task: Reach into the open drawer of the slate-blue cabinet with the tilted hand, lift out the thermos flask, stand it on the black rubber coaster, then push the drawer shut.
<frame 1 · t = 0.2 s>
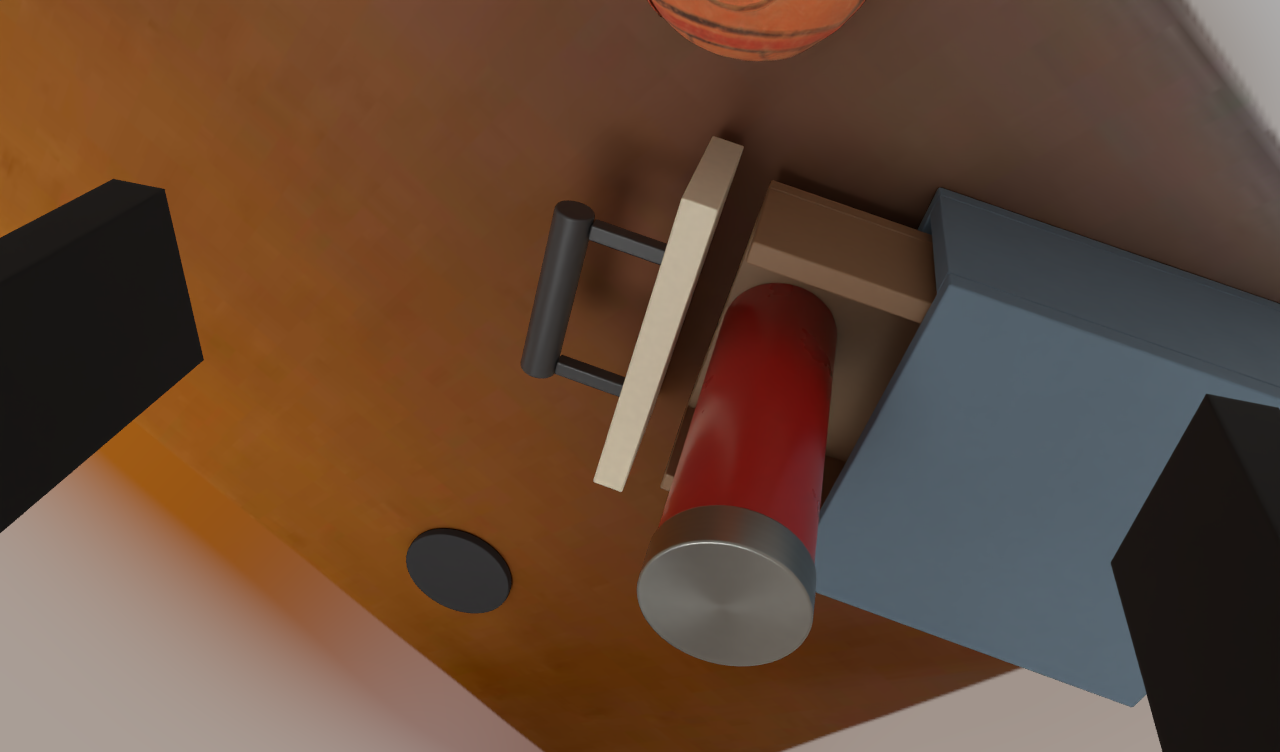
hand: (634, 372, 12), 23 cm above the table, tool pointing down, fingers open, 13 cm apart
coaster: (460, 568, 50), on the table
drawer: (756, 352, 33), point 4 cm above the table, slide at 7.0 cm, touching thermos flask
cabinet: (1025, 394, 36), on the table
thermos flask: (778, 333, 34), point 2 cm above the table, touching drawer
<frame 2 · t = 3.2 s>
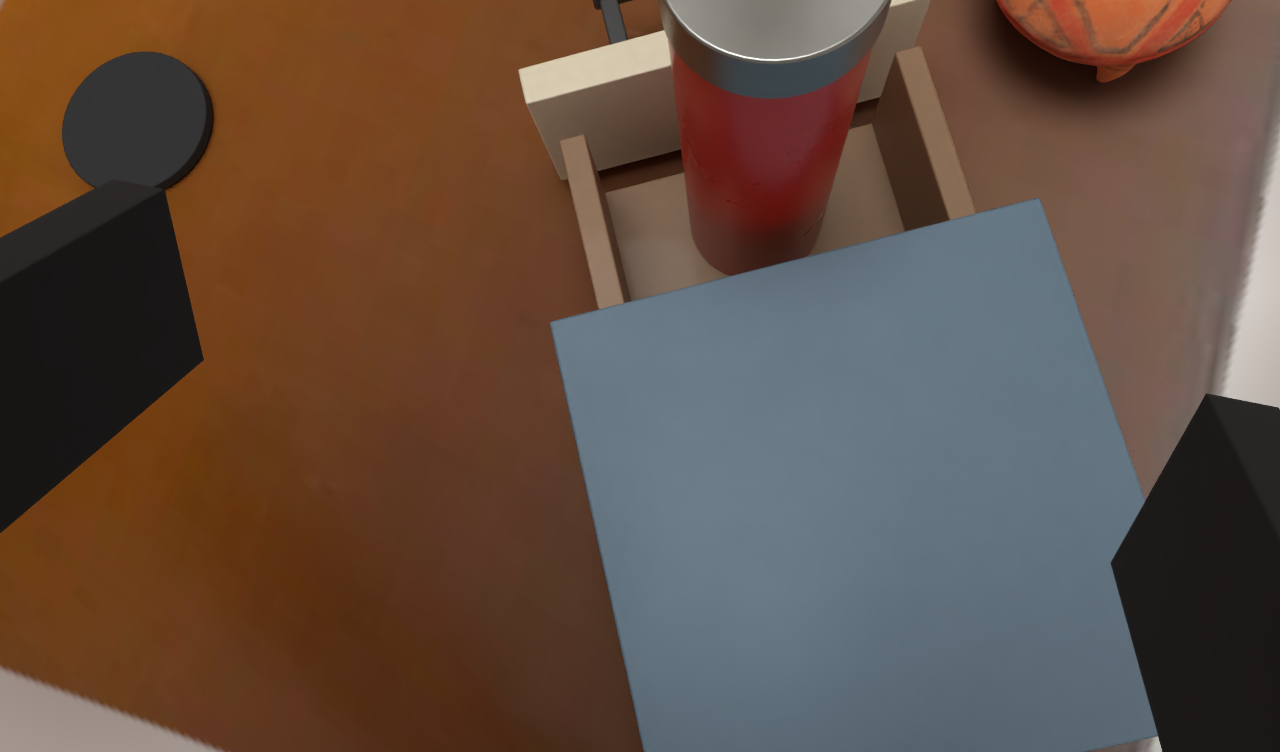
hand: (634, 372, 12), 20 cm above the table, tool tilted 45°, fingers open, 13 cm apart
coaster: (141, 126, 36), on the table
pot: (1073, 12, 33), on the table
drawer: (750, 179, 29), point 4 cm above the table, slide at 7.0 cm, touching thermos flask
cabinet: (828, 516, 30), on the table
thermos flask: (754, 218, 30), point 2 cm above the table, touching drawer
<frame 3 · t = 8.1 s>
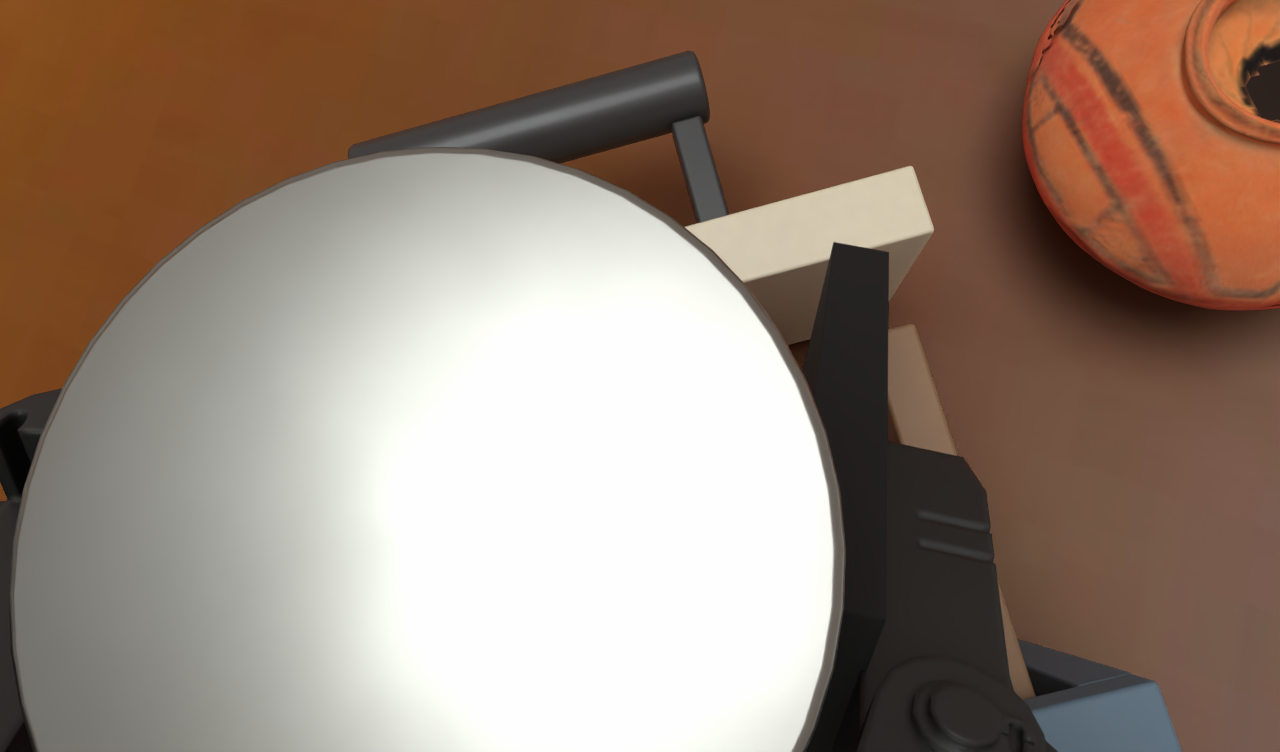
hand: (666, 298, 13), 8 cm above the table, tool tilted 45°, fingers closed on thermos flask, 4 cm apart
pot: (1151, 183, 21), on the table
drawer: (626, 514, 17), point 4 cm above the table, slide at 7.1 cm, touching gripper, thermos flask
thermos flask: (644, 550, 18), point 2 cm above the table, touching drawer, gripper
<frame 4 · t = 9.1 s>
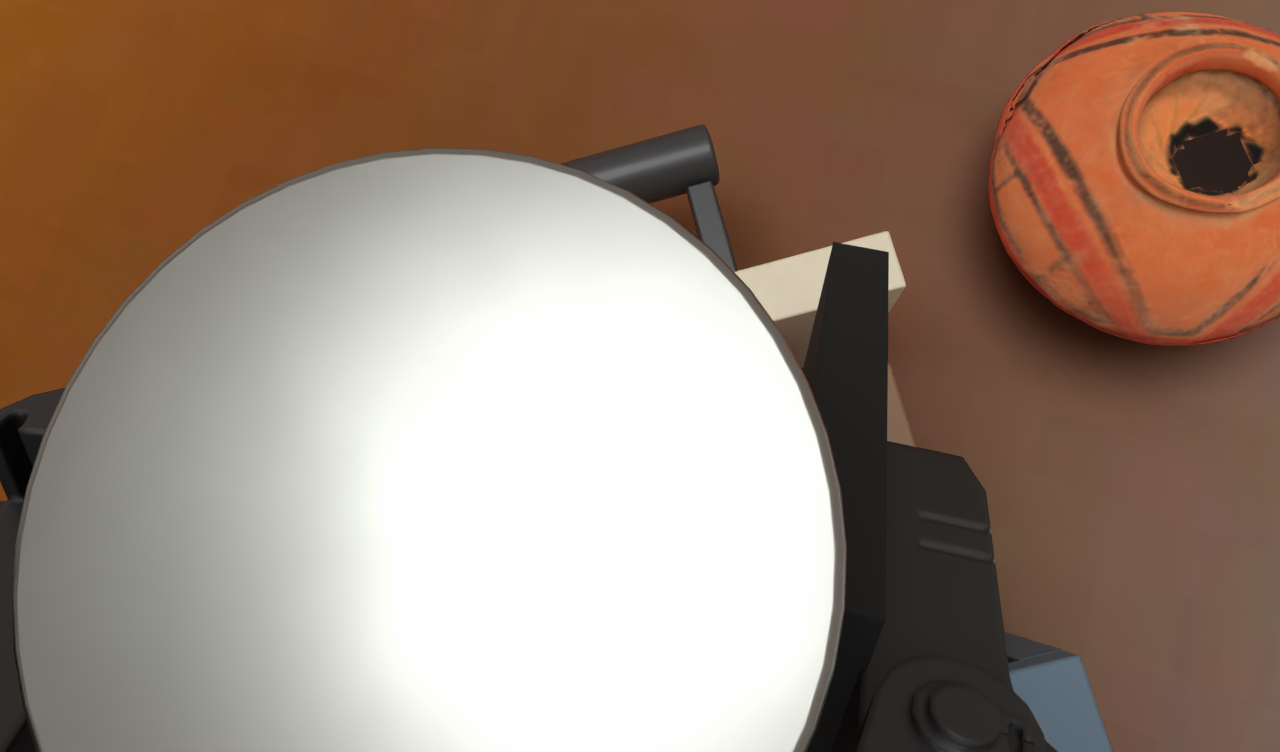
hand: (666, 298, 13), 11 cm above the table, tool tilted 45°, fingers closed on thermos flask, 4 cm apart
pot: (1106, 227, 24), on the table
drawer: (648, 519, 20), point 4 cm above the table, slide at 7.1 cm
thermos flask: (644, 550, 18), point 5 cm above the table, touching gripper
when the fingers open (6 cm above the table, at t = 18.4 s): thermos flask stays where it is, resting on coaster.
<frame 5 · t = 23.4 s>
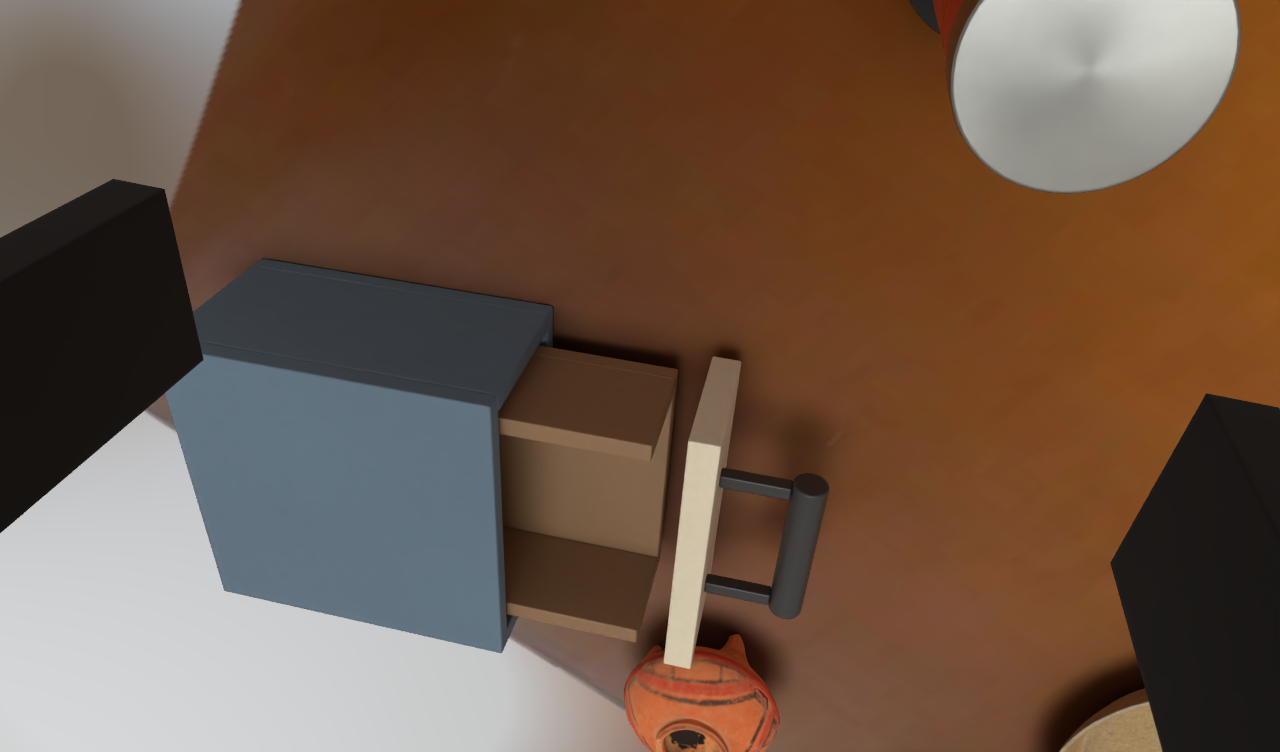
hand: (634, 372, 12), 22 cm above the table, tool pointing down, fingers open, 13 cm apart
plant saucer: (1201, 745, 44), on the table
pot: (710, 655, 48), on the table
drawer: (619, 501, 38), point 4 cm above the table, slide at 7.1 cm
cabinet: (417, 406, 43), on the table
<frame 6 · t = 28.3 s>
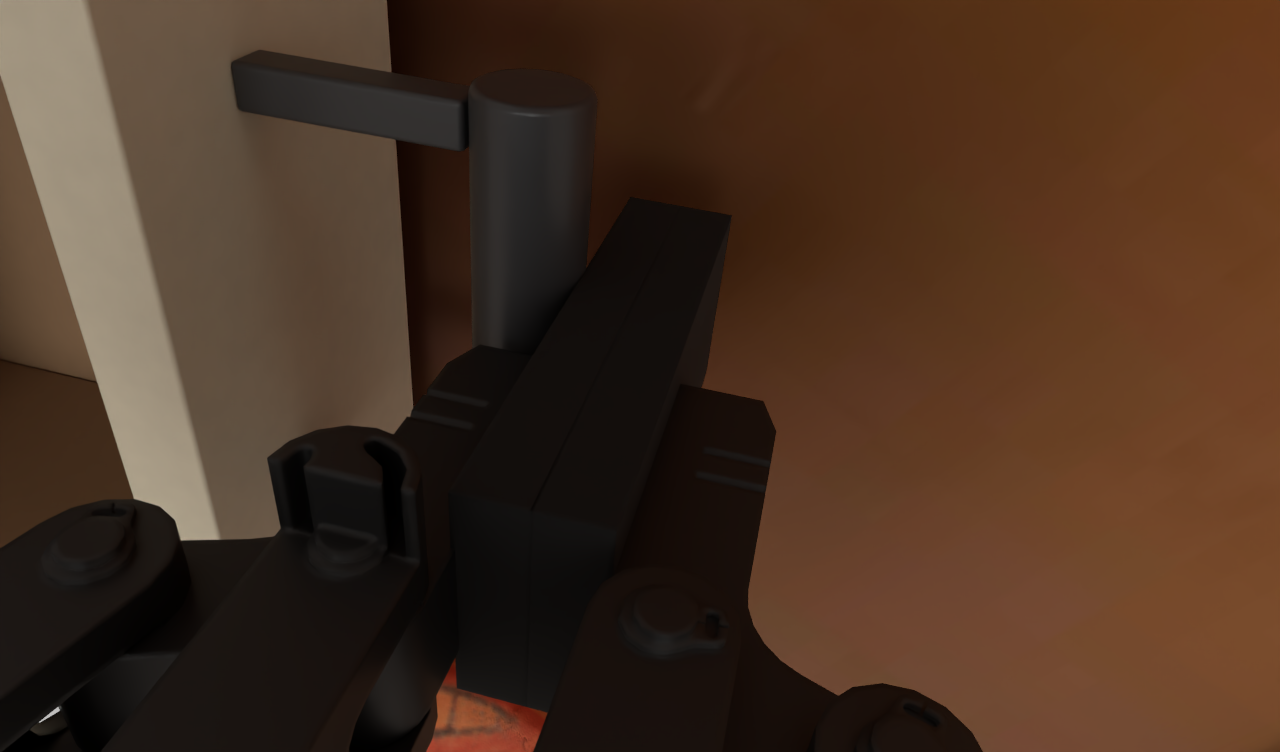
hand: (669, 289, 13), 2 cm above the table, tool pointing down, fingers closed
pot: (488, 663, 24), on the table
drawer: (55, 221, 13), point 4 cm above the table, slide at 6.5 cm, touching gripper
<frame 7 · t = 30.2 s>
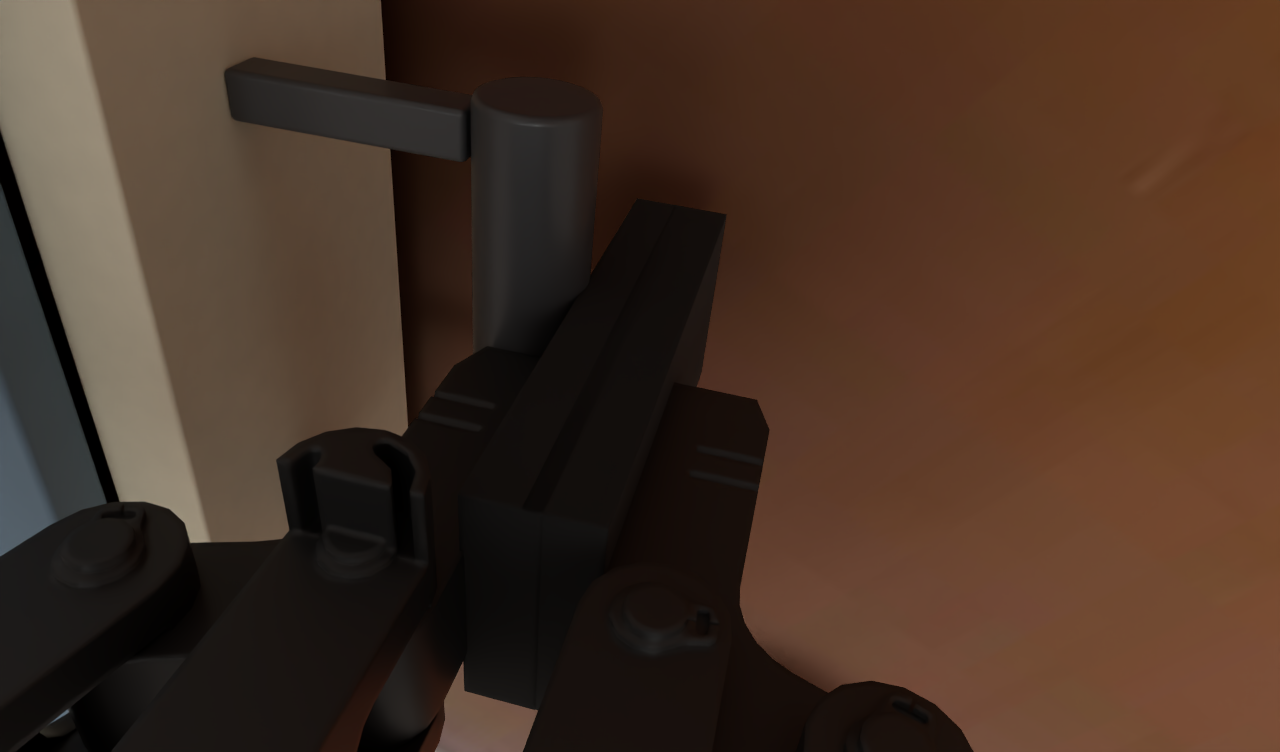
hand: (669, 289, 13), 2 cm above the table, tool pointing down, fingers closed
drawer: (40, 232, 13), point 4 cm above the table, slide at 0.0 cm, touching cabinet, gripper
cabinet: (8, 107, 17), on the table
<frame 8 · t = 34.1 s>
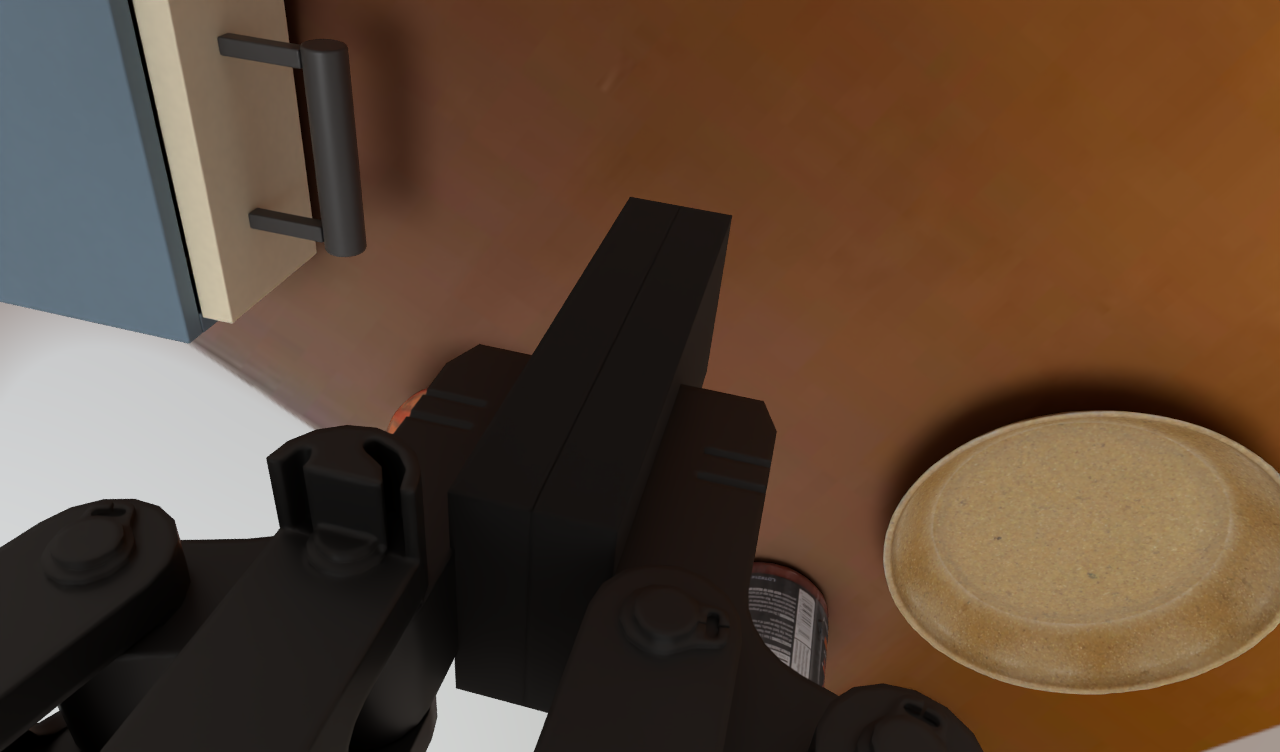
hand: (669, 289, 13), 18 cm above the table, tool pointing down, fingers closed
plant saucer: (1071, 520, 36), on the table
pot: (504, 418, 41), on the table
supplement bottle: (767, 597, 43), on the table
drawer: (143, 108, 31), point 4 cm above the table, slide at 0.0 cm, touching cabinet
cabinet: (121, 62, 35), on the table
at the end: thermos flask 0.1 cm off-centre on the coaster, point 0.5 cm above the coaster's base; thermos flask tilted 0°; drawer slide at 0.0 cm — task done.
